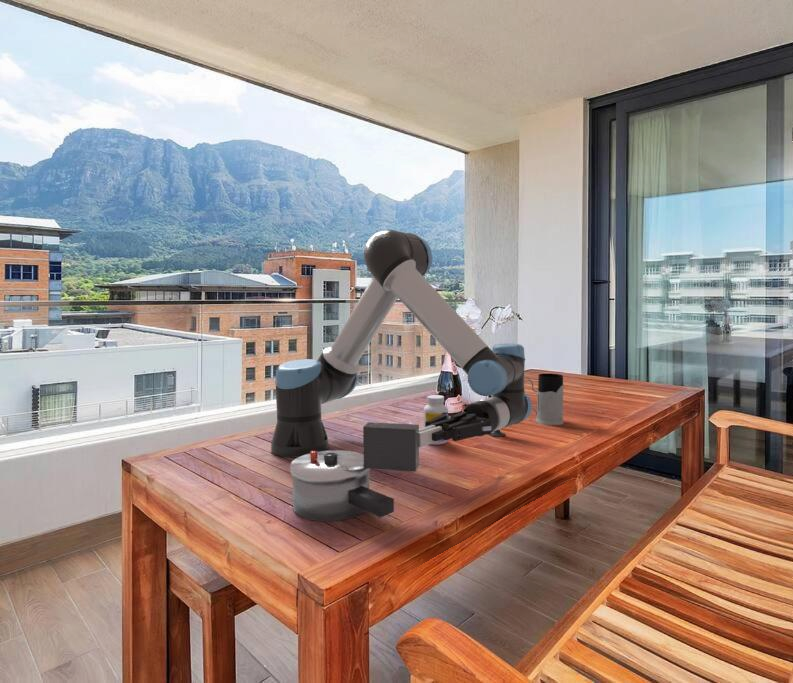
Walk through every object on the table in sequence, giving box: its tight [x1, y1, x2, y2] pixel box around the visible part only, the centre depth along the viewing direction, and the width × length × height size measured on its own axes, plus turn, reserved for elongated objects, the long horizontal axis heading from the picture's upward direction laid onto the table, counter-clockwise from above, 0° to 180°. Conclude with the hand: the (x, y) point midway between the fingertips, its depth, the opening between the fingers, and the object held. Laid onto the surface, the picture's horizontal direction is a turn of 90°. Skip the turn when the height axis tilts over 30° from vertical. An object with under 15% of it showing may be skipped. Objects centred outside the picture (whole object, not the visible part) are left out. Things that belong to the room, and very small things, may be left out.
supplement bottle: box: [423, 394, 449, 446], centre depth 141 cm, size 7×7×13 cm
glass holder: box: [524, 373, 565, 426], centre depth 163 cm, size 9×14×15 cm, turn 70°
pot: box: [291, 471, 395, 522], centre depth 98 cm, size 26×15×7 cm, turn 44°
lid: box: [289, 421, 420, 484], centre depth 98 cm, size 25×16×9 cm, turn 78°
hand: (415, 439), depth 98 cm, fingers closed
